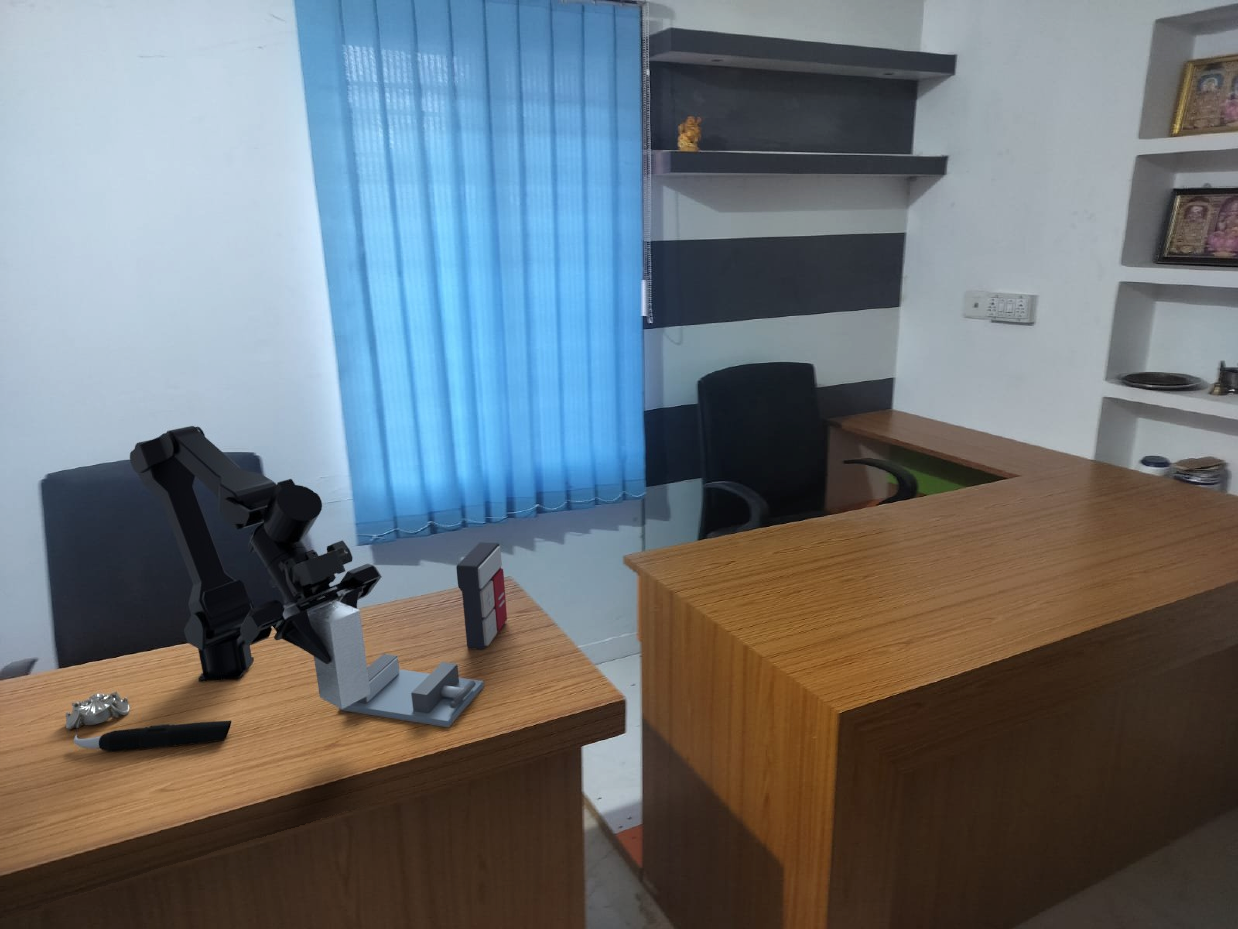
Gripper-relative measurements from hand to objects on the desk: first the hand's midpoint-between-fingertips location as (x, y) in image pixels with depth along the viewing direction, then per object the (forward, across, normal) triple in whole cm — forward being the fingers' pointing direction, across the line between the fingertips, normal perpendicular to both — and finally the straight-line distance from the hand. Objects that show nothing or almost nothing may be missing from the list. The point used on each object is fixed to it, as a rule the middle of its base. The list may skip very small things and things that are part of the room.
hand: (345, 654), depth 109 cm
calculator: (+4, +32, +15) cm, 36 cm away
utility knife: (-7, -16, +27) cm, 32 cm away
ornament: (-16, -18, +36) cm, 44 cm away
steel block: (+4, 0, +6) cm, 7 cm away
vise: (+8, +12, +11) cm, 18 cm away
